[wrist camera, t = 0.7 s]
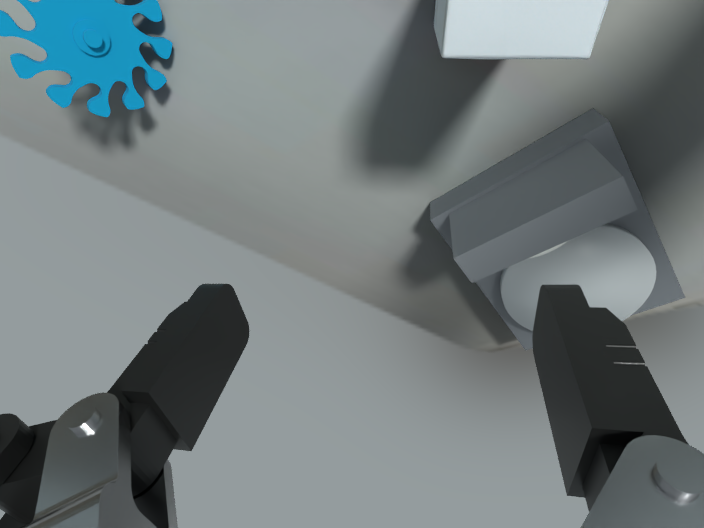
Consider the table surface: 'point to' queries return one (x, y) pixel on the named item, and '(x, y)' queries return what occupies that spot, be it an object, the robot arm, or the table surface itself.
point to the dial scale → (558, 228)
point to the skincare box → (517, 28)
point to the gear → (89, 47)
